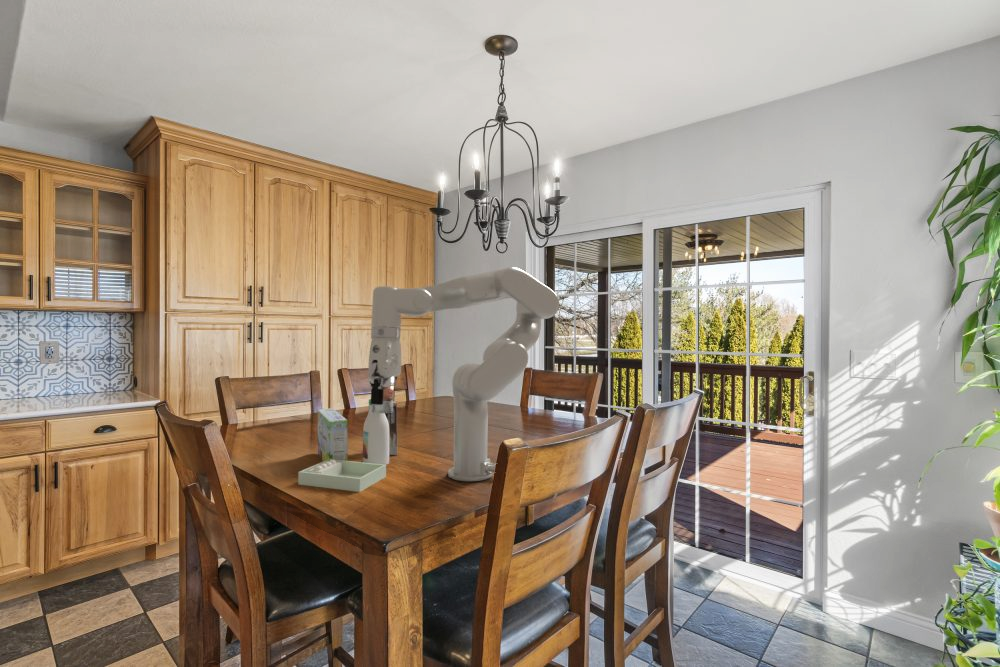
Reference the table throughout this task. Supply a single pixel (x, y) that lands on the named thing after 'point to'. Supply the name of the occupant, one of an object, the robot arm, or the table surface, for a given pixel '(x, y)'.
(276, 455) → the table surface
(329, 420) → the snack box
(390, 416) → the coffee box
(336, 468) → the egg carton
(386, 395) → the tin can
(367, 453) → the milk bottle
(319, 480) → the pale green tray
